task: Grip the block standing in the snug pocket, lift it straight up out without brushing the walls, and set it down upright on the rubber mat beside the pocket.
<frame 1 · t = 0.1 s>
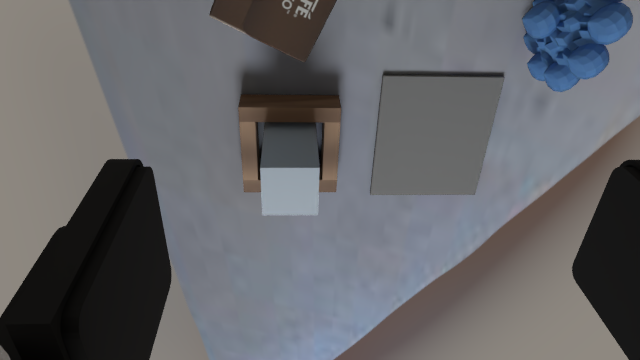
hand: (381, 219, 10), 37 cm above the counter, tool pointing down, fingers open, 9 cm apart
block: (290, 162, 46), in the pocket holder
pocket holder: (290, 137, 50), on the counter
grapes: (531, 2, 44), on the counter
mat: (432, 138, 51), on the counter
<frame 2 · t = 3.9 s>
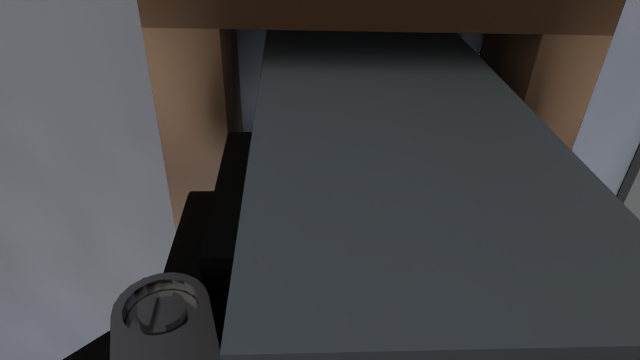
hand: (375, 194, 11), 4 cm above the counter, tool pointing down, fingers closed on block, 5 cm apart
block: (382, 223, 10), in the pocket holder, touching gripper
pocket holder: (355, 115, 14), on the counter
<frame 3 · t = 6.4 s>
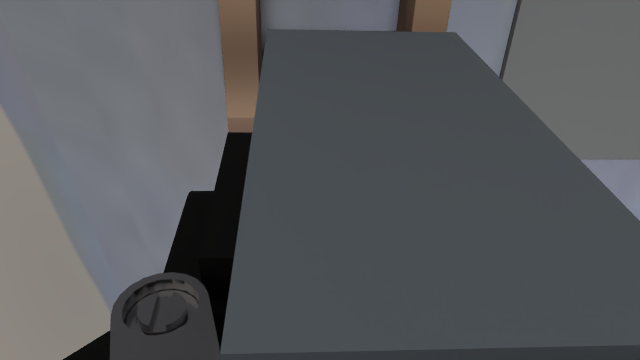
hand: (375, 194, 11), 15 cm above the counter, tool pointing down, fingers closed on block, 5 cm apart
block: (382, 223, 10), point 16 cm above the counter, touching gripper
pocket holder: (329, 29, 23), on the counter
mat: (626, 34, 24), on the counter
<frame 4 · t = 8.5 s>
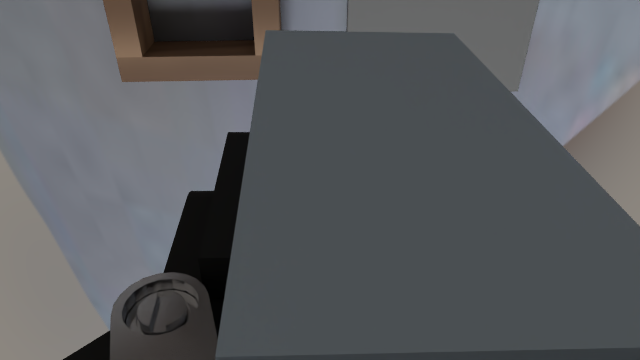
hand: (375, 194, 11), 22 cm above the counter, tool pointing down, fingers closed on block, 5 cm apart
block: (380, 224, 10), point 23 cm above the counter, touching gripper
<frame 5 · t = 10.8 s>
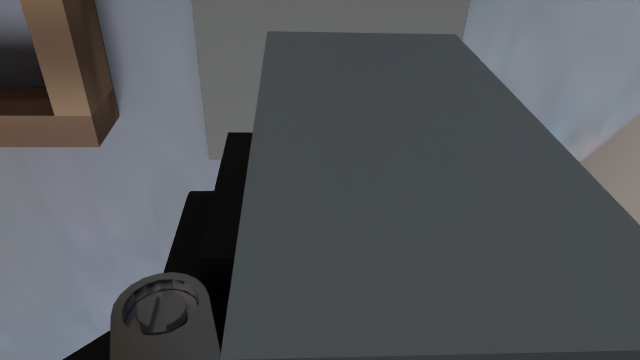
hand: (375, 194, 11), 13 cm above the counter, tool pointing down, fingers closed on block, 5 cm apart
block: (382, 225, 10), point 14 cm above the counter, touching gripper
mat: (331, 20, 22), on the counter
when the fingers open (5 cm above the counter, at t = 13.1 s): block stays where it is, resting on mat.
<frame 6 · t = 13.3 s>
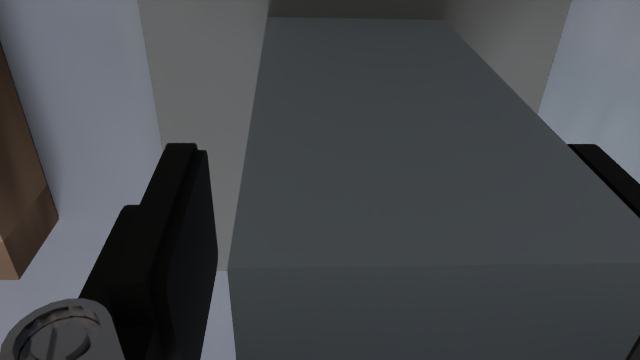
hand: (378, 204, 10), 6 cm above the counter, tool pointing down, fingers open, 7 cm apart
block: (373, 192, 11), on the mat
mat: (350, 97, 15), on the counter
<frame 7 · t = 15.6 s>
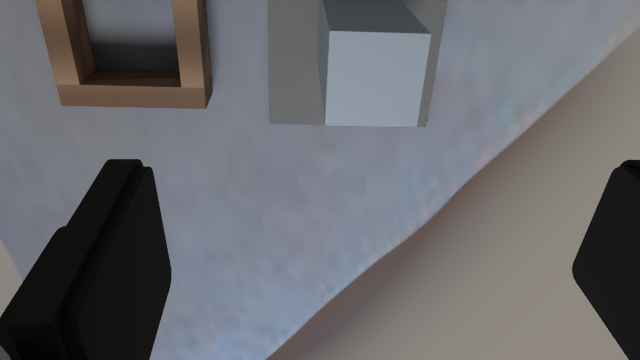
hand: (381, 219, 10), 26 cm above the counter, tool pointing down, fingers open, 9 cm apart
block: (364, 53, 29), on the mat
pocket holder: (135, 24, 33), on the counter
mat: (355, 31, 34), on the counter
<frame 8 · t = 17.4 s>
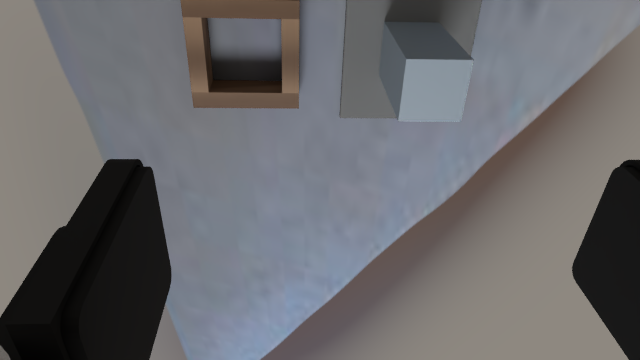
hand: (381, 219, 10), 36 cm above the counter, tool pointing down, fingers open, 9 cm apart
block: (420, 68, 41), on the mat
pocket holder: (246, 46, 44), on the counter
mat: (407, 48, 45), on the counter
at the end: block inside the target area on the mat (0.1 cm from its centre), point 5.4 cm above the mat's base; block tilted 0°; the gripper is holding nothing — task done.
